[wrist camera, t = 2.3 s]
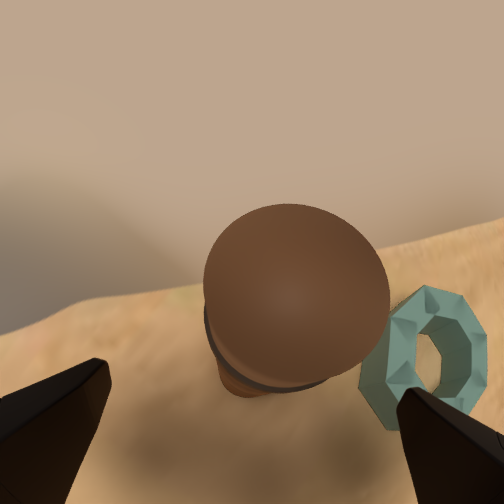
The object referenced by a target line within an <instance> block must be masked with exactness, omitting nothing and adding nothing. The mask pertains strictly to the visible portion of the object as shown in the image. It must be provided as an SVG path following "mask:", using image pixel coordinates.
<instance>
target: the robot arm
mask: <svg viewBox="0 0 504 504" xmlns="http://www.w3.org/2000/svg"><path fill="white" fill-rule="evenodd" d="M111 387H112V381H111V376H110V370H109V365H108V363H107V361H105V360H102V359H99V358H92V359H90V360H87V361H85V362H83V363H81V364H78V365H76V366H74V367H72V368H69V369H67V370H65V371H62V372H60V373H58V374H56V375H53V376H51V377H49V378H46V379H44V380H42V381H39V382H37V383H35V384H32V385H30V386H27V387H25V388H23V389H20V390H18V391H15V392H13V393H10V394H8V395H6V396H3V397H2V399H1V398H0V504H65V502H66V499H67V497H68V494H69V492H70V489H71V487H72V484H73V482H74V480H75V477H76V475H77V473H78V470H79V468H80V466H81V463H82V461H83V459H84V457H85V455H86V452H87V450H88V448H89V446H90V444H91V441H92V439H93V437H94V435H95V433H96V430H97V428H98V425H99V422H100V419H101V416H102V413H103V410H104V407H105V405H106V402H107V399H108V396H109V393H110V390H111ZM396 415H397V419H398V424H399V429H400V434H401V439H402V444H403V449H404V453H405V456H406V460H407V463H408V467H409V470H410V474H411V477H412V481H413V485H414V489H415V493H416V497H417V501H418V504H504V435H502V434H500V433H499V432H496V431H495V430H493V429H491V428H489V427H488V426H486V425H484V424H482V423H480V422H479V421H477V420H475V419H473V418H472V417H470V416H468V415H466V414H465V413H463V412H461V411H459V410H458V409H456V408H454V407H452V406H451V405H449V404H447V403H446V402H444V401H442V400H440V399H439V398H437V397H435V396H434V395H432V394H430V393H429V392H427V391H425V390H424V389H422V388H420V387H410V388H407V389H406V390H405V392H404V394H403V396H402V398H401V399H400V401H399V403H398V405H397V407H396Z"/></svg>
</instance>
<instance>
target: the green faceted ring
mask: <svg viewBox="0 0 504 504" xmlns="http://www.w3.org/2000/svg"><path fill="white" fill-rule="evenodd" d="M418 333H421V334H427V335H429V336H430V338H431V339H432V341H433V343H434V344H435V346H436V347H437V349H438V350H439V352H440V354H441V355H442V369H441V383H440V385H439V386H438V387H437V388H436V390H435V391H434V392H433V393H432V395H434V396H435V397H437V398H439V399H440V400H442V401H444V402H446V403H447V404H449V405H451V406H452V407H454V408H456V409H458V410H459V411H461V412H463V413H465V414H466V415H469V413H470V412H471V410H472V409H473V407H474V406H475V404H476V403H477V401H478V400H479V398H480V396H481V395H482V393H483V392H484V390H485V388H486V387H487V335H486V333H485V331H484V330H483V328H482V326H481V325H480V323H479V321H478V320H477V318H476V316H475V315H474V313H473V311H472V310H471V308H470V307H469V305H468V303H467V302H466V300H465V299H464V297H463V296H462V295H458V294H455V293H451V292H448V291H444V290H440V289H437V288H433V287H429V286H426V285H423V286H422V287H421V288H419V289H418V290H417V291H416V292H414V293H413V294H412V295H410V296H409V297H408V298H406V299H405V300H404V301H402V302H401V303H399V304H398V306H397V307H395V308H394V309H393V310H392V311H391V312H390V313H389V316H388V320H387V324H386V327H385V329H384V332H383V334H382V336H381V338H380V340H379V342H378V343H377V345H376V346H375V347H374V349H373V350H372V351H371V353H370V354H369V355H368V356H367V357H366V358H365V359H363V360H362V368H361V375H360V382H359V387H358V389H359V390H360V391H361V393H362V394H363V395H364V397H365V398H366V400H367V401H368V403H369V404H370V406H371V407H372V409H373V410H374V412H375V413H376V415H377V416H378V418H379V419H380V421H381V422H382V423H383V425H384V426H385V428H386V430H398V431H400V429H399V424H398V419H397V415H396V407H397V405H398V403H399V401H400V399H401V398H402V396H403V394H404V392H405V390H406V389H407V388H410V387H420V388H422V389H424V390H425V391H427V389H426V388H425V386H424V385H423V383H422V381H421V380H420V378H419V377H418V375H417V374H416V372H415V361H416V342H417V334H418ZM427 392H428V391H427Z"/></svg>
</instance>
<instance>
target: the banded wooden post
mask: <svg viewBox="0 0 504 504" xmlns="http://www.w3.org/2000/svg"><path fill="white" fill-rule="evenodd" d="M203 288H204V297H205V306H204V323H205V329H206V334H207V338H208V341H209V344H210V347H211V349H212V351H213V353H214V355H215V357H216V360H217V365H218V370H219V374H220V378H221V381H222V383H223V385H224V386H225V387H226V388H227V390H229V391H230V392H231V393H233V394H235V395H237V396H240V397H245V398H250V397H256V396H261V395H266V394H270V393H290V392H296V391H301V390H305V389H308V388H312V387H314V386H316V385H319V384H321V383H323V382H324V381H326V380H327V379H329V378H330V377H333V376H337V375H340V374H342V373H344V372H346V371H348V370H350V369H351V368H353V367H354V366H356V365H357V364H359V363H360V362H361V361H362V360H363V359H365V358H366V357H367V356H368V355H369V354H370V353H371V351H372V350H373V349H374V347H375V346H376V345H377V343H378V342H379V340H380V338H381V336H382V334H383V332H384V329H385V327H386V324H387V320H388V316H389V310H390V289H389V284H388V279H387V275H386V272H385V269H384V267H383V265H382V262H381V260H380V258H379V256H378V255H377V253H376V251H375V250H374V248H373V247H372V246H371V244H370V243H369V242H368V241H367V239H366V238H365V237H364V236H363V235H362V234H361V233H360V232H359V231H357V230H356V229H355V228H354V227H353V226H352V225H350V224H349V223H347V222H346V221H345V220H343V219H341V218H339V217H338V216H336V215H334V214H332V213H329V212H327V211H324V210H321V209H318V208H315V207H311V206H306V205H298V204H278V205H271V206H267V207H262V208H259V209H256V210H253V211H251V212H249V213H247V214H245V215H243V216H241V217H240V218H238V219H237V220H235V221H234V222H233V223H232V224H230V225H229V226H228V227H227V228H226V229H225V230H224V231H223V232H222V234H221V235H220V236H219V237H218V239H217V240H216V242H215V243H214V245H213V247H212V249H211V251H210V253H209V256H208V259H207V262H206V265H205V271H204V279H203Z"/></svg>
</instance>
